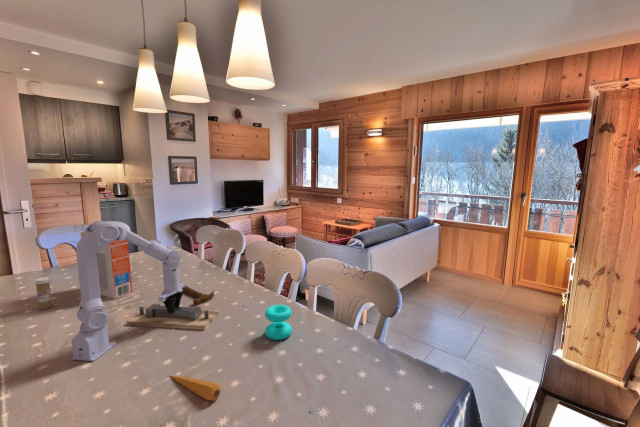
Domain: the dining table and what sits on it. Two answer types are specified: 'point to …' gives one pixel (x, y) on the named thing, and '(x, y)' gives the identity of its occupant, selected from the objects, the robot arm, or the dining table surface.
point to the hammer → (198, 295)
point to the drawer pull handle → (179, 312)
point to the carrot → (200, 387)
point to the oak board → (173, 321)
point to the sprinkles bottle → (43, 292)
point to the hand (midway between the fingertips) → (173, 310)
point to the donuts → (278, 322)
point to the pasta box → (114, 269)
